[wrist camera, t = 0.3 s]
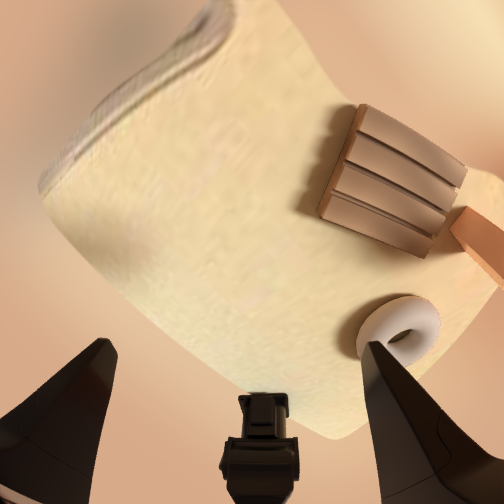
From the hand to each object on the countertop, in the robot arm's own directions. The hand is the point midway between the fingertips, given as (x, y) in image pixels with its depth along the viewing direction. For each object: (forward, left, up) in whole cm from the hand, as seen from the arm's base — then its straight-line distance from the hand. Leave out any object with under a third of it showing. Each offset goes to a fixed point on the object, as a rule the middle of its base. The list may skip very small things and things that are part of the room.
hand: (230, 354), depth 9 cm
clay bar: (-3, -20, -14) cm, 25 cm away
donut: (-15, -14, -15) cm, 25 cm away
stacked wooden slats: (+1, -11, -14) cm, 18 cm away
